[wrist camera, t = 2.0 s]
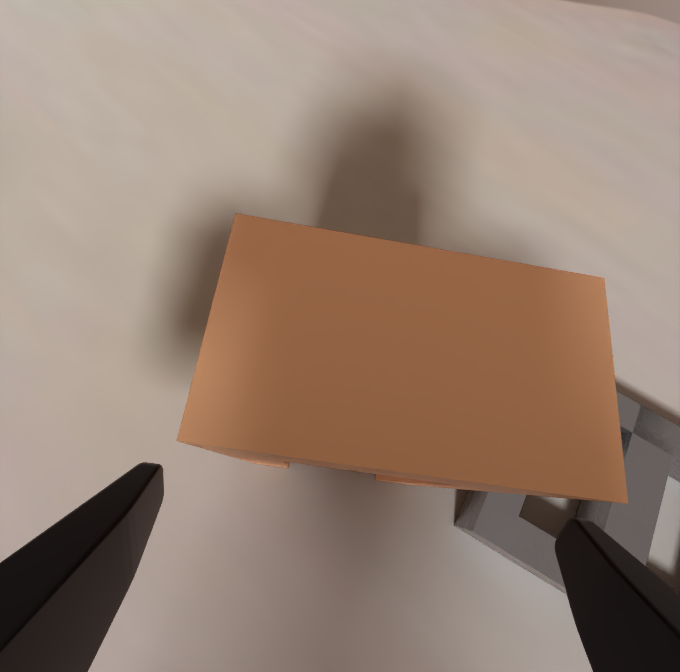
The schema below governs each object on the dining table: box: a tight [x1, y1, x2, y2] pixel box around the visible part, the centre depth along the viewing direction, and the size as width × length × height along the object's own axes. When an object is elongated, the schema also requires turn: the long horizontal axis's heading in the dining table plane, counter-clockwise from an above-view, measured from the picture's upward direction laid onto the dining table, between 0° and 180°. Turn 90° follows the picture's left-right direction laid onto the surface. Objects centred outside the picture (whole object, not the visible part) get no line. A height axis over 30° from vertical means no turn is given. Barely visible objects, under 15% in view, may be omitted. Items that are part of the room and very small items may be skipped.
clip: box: [177, 214, 628, 504], centre depth 13 cm, size 7×4×13 cm, turn 83°
